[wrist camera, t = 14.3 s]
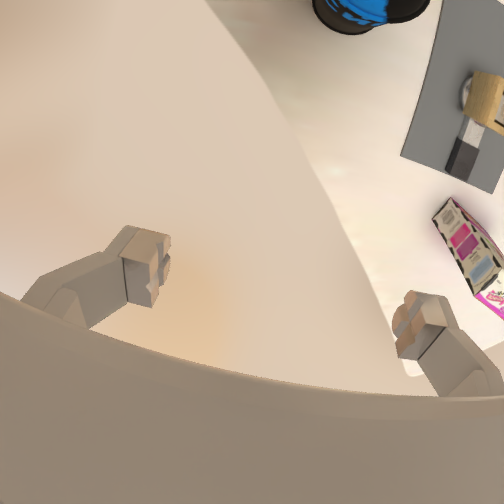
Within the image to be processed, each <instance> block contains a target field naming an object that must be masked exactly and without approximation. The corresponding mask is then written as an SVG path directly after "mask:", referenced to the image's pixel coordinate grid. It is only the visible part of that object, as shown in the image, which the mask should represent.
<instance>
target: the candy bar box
mask: <svg viewBox="0 0 504 504" xmlns="http://www.w3.org/2000/svg"><path fill="white" fill-rule="evenodd" d="M432 221H433V222H434V224H435V225H436V227H437V229H438V230H439V232H440V234H441V235H442V237H443V239H444V240H445V242H446V244H447V246H448V247H449V249H450V251H451V253H452V254H453V256H454V258H455V260H456V262H457V264H458V266H459V268H460V270H461V272H462V274H463V275H464V277H465V279H466V281H467V283H468V285H469V287H470V289H471V291H472V293H473V296H474V297H475V298H476V299H478V300H479V301H480V302H482V303H483V304H484V305H486V306H487V307H488V308H489V309H491V310H492V311H493V312H494V313H496V314H497V315H498V316H499V317H500V318H502V319H503V320H504V255H503V254H502V252H501V251H500V250H499V248H498V247H497V245H496V244H495V242H494V241H493V240H492V238H491V237H490V236H489V234H488V233H487V232H486V231H485V230H484V229H483V228H482V227H481V226H480V225H479V224H478V223H477V222H476V221H475V220H474V219H473V218H472V217H471V216H470V215H469V214H468V213H467V212H466V211H465V210H464V209H463V208H462V207H461V206H460V205H459V204H458V203H457V202H456V201H455V200H454V199H452V198H450V199H449V200H448V201H447V203H446V204H445V205H444V206H443V207H442V209H441V210H440V211H439V212H438V213H437V214H436V215H435V217H434V218H433V219H432Z"/></svg>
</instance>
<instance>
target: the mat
mask: <svg viewBox="0 0 504 504" xmlns="http://www.w3.org/2000/svg"><path fill="white" fill-rule="evenodd" d="M474 71H480V72H484V73H488V74H493V75H497V76H500V77H502V78H503V79H504V5H503V4H501V3H500V2H499V1H497V0H443V3H442V9H441V14H440V19H439V23H438V28H437V32H436V37H435V41H434V45H433V49H432V53H431V57H430V61H429V65H428V69H427V72H426V76H425V80H424V83H423V87H422V90H421V94H420V97H419V100H418V104H417V107H416V110H415V113H414V116H413V119H412V123H411V126H410V129H409V132H408V135H407V138H406V140H405V143H404V146H403V149H402V152H401V155H400V156H401V157H404V158H407V159H409V160H412V161H415V162H417V163H420V164H423V165H425V166H428V167H430V168H433V169H435V170H438V171H440V172H443V173H445V174H448V173H447V172H446V171H445V170H444V169H445V167H446V164H447V162H448V159H449V156H450V154H451V151H452V149H453V146H454V143H455V140H456V138H457V137H458V136H459V133H460V130H461V127H462V124H463V121H464V118H465V115H464V114H463V113H462V110H461V107H460V104H459V89H460V86H461V84H462V82H463V81H464V79H465V78H467V77H468V76H470V75H473V74H474ZM478 149H479V150H480V151H479V154H478V156H477V159H476V161H475V164H474V166H473V169H472V171H471V173H470V176H469V178H468V180H467V182H466V181H464V182H466V183H468V184H471V185H473V186H475V187H477V188H479V189H481V190H483V191H486V192H488V193H490V194H493V192H494V189H495V187H496V185H497V183H498V180H499V178H500V176H501V173H502V171H503V169H504V137H503V136H502V135H500V134H498V133H497V132H495V131H493V130H491V129H490V128H485V129H484V132H483V135H482V138H481V140H480V143H479V146H478ZM448 175H450V174H448ZM450 176H452V175H450ZM452 177H454V176H452ZM455 178H457V177H455ZM457 179H459V178H457ZM459 180H461V179H459ZM462 181H463V180H462Z"/></svg>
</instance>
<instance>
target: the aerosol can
mask: <svg viewBox="0 0 504 504" xmlns="http://www.w3.org/2000/svg"><path fill="white" fill-rule="evenodd" d="M429 3H430V0H312V4H313V8H314V11H315V13H316V15H317V17H318V18H319V19H320V21H321V22H322V23H323V24H324V25H326V26H327V27H328V28H330V29H332V30H333V31H336V32H338V33H341V34H346V35H359V34H363V33H366V32H368V31H370V30H372V29H373V28H374V27H377V26H381V25H384V24H387V23H390V24H393V23H403V22H407V21H410V20H412V19H414V18H416V17H418V16H419V15H420V14H421V13H423V12H424V11H425V9H426V8H427V6H428V5H429Z"/></svg>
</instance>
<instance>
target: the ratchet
mask: <svg viewBox="0 0 504 504" xmlns="http://www.w3.org/2000/svg"><path fill="white" fill-rule="evenodd" d="M473 75H474V74H473ZM473 75H470V76H468V77H467V78H465V79H464V81H463V82H462V84H461V86H460V89H459V104H460V107H461V110H462V112H463V109H464V106H465V103H466V100H467V96H468V93H469V90H470V86H471V82H472V79H473ZM494 121H497V122H499V123H501V124H503V125H504V95H502V98H501V101H500V104H499V108H498V111H497V114H496V117H495V120H494ZM485 128H488V127H486V126H485V125H483V124H481V123H479V122H477V121H476V120H474V119H472V118H470V117H468V116H466V115H465V118H464V121H463V124H462V127H461V130H460V133H459V136H458V137H457V138H456V140H455V143H454V146H453V149H452V151H451V154H450V156H449V159H448V162H447V164H446V167H445V169H444V170H445V171H446V172H447V173H448V174H450V175H452V176H454V177H457V178H459V179H461V180H463V181H466V182H467V180H468V178H469V176H470V173H471V171H472V169H473V166H474V164H475V161H476V159H477V156H478V154H479V151H480V150H479V149H478V146H479V143H480V140H481V138H482V135H483V132H484V129H485Z"/></svg>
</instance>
